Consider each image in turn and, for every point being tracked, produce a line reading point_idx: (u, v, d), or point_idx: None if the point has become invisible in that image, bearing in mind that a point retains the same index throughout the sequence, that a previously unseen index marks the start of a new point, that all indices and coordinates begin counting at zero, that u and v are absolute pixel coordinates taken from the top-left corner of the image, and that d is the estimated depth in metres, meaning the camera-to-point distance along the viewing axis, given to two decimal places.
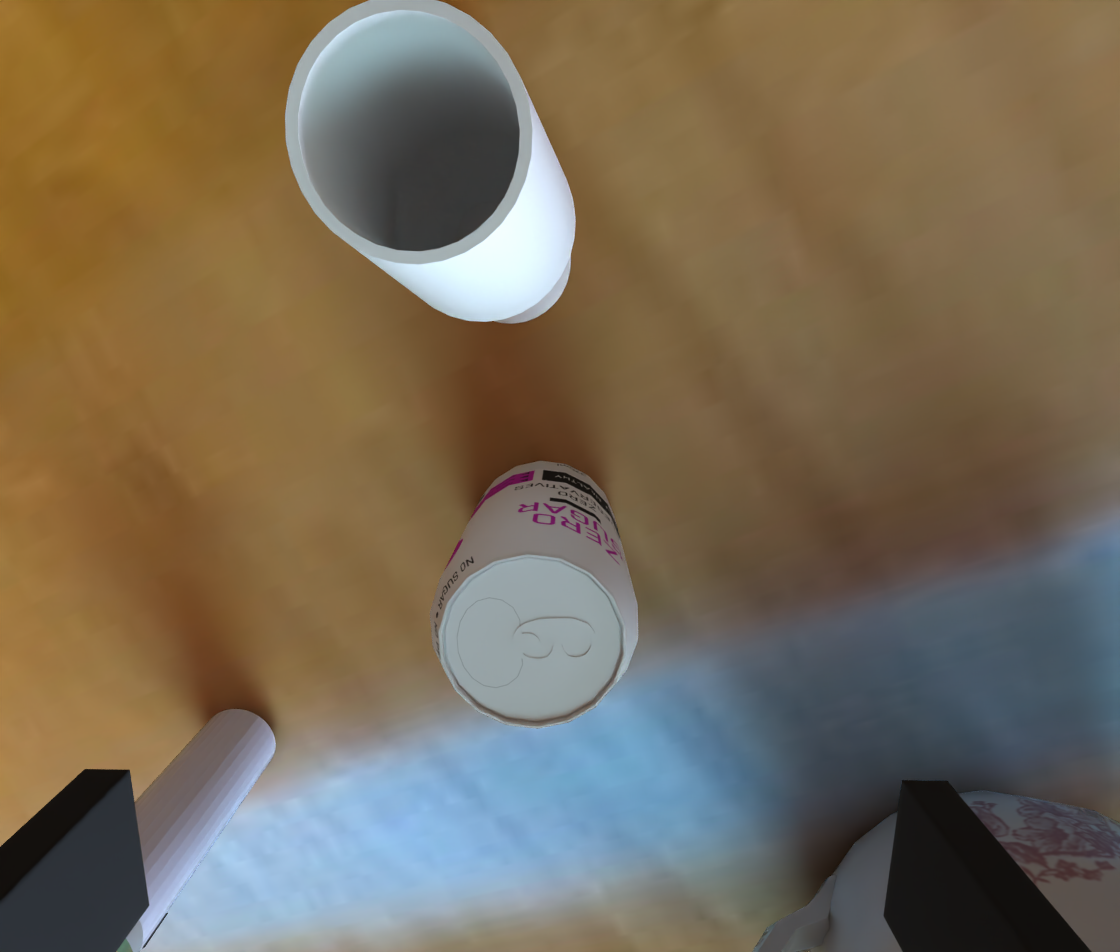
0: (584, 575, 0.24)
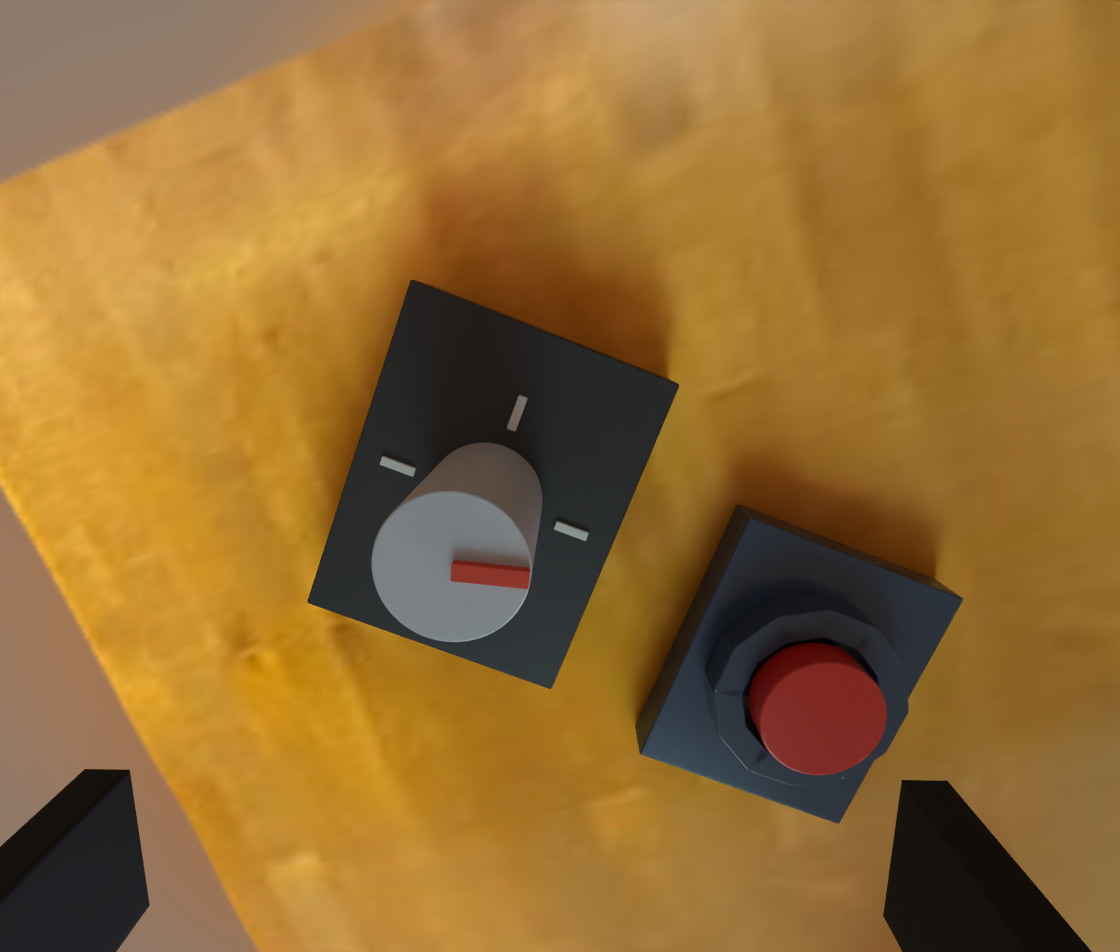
0: None
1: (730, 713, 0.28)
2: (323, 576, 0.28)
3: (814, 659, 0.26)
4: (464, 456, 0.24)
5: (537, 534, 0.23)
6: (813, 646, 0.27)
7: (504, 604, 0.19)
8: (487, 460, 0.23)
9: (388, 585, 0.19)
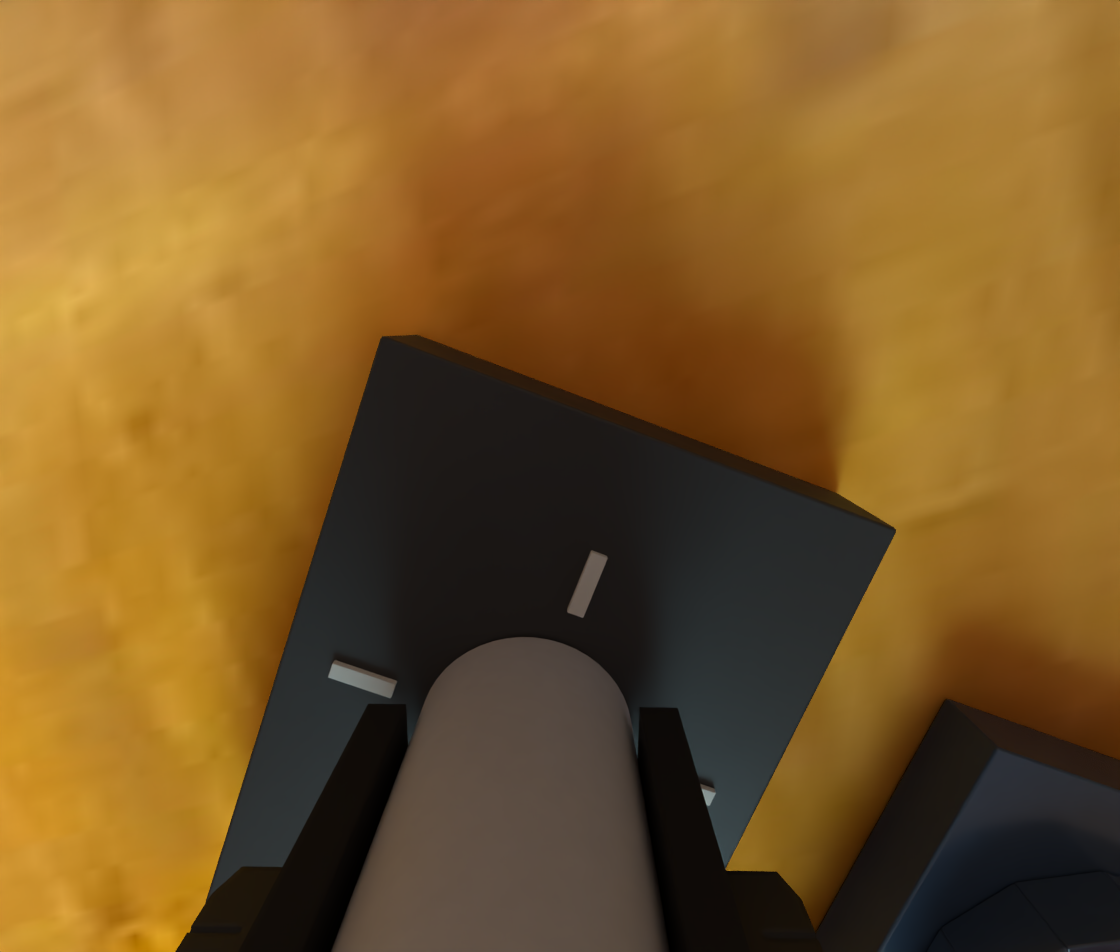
0: None
1: None
2: (232, 863, 0.15)
3: None
4: (493, 713, 0.11)
5: None
6: None
7: None
8: (544, 733, 0.11)
9: None
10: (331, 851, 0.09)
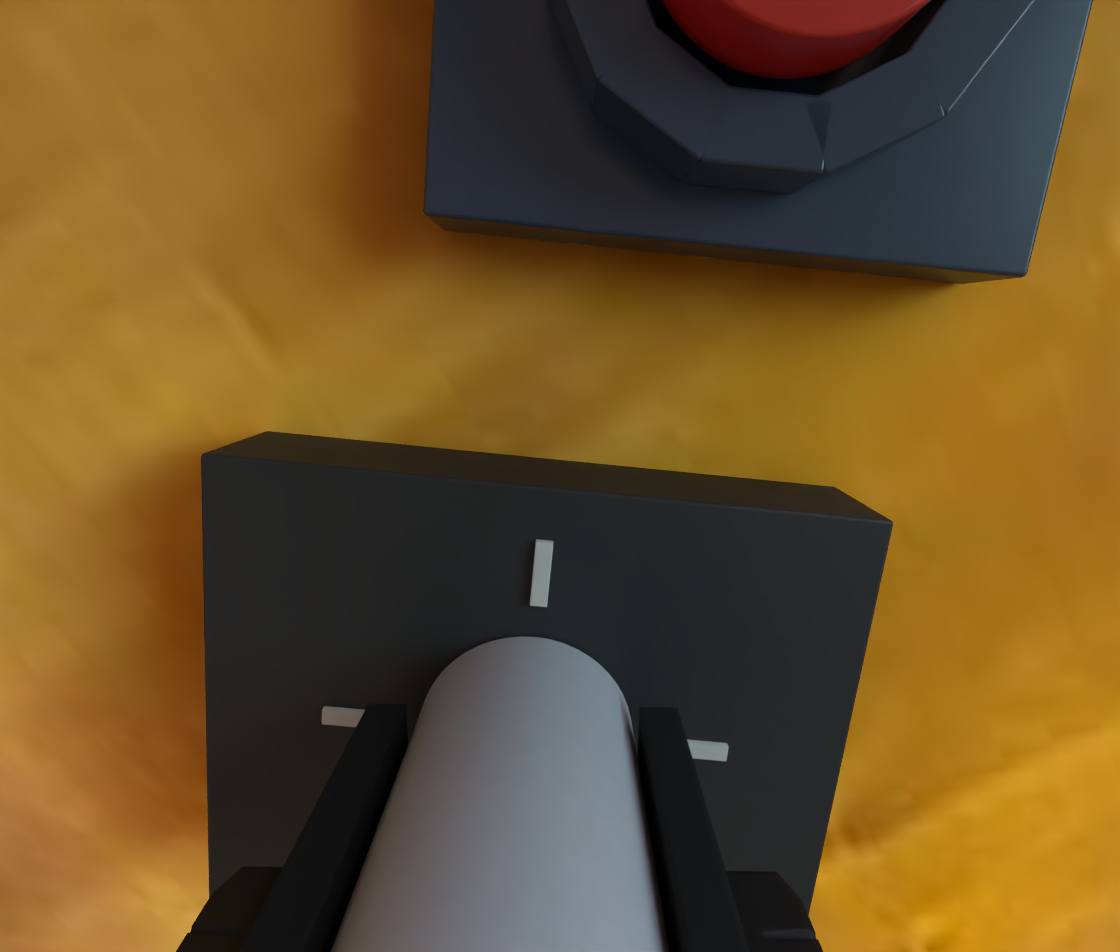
0: None
1: (877, 107, 0.11)
2: None
3: None
4: (492, 712, 0.11)
5: None
6: None
7: None
8: (543, 732, 0.11)
9: None
10: (332, 851, 0.09)
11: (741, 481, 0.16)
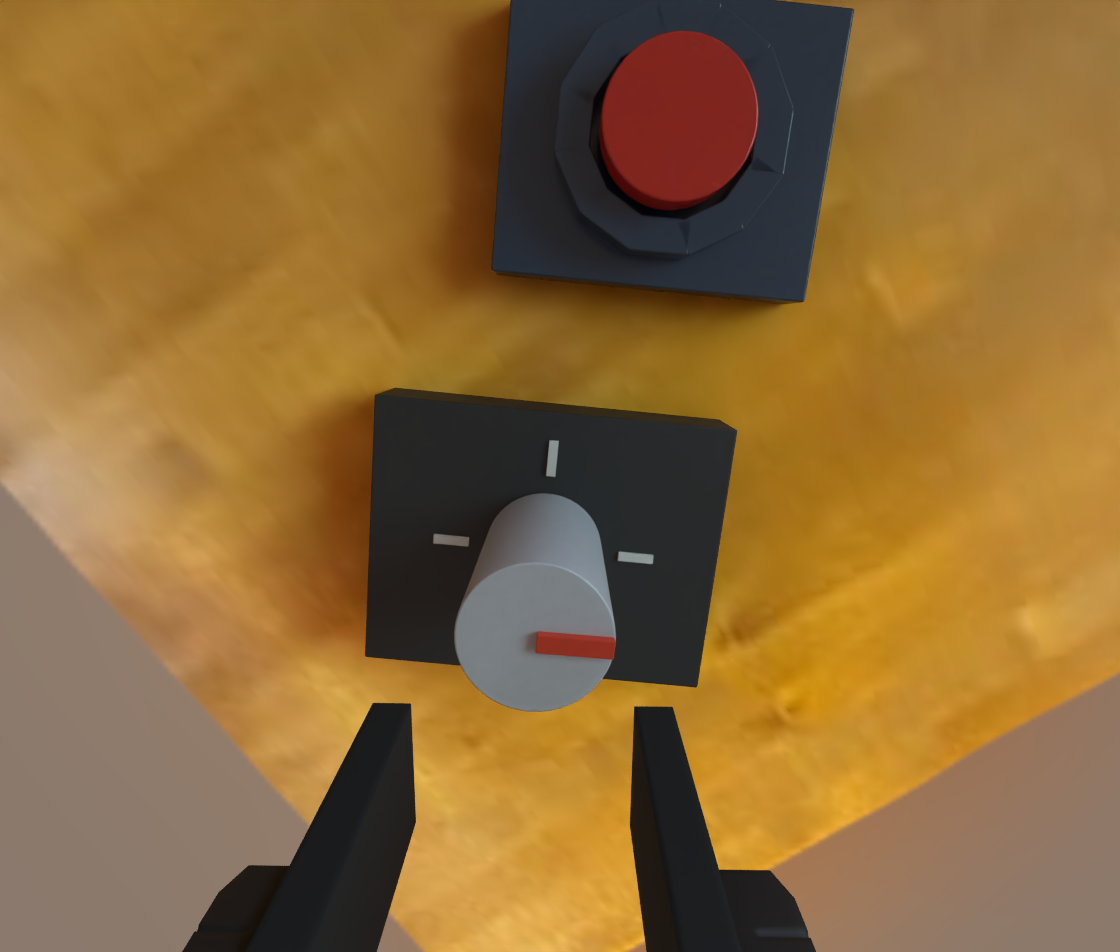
0: None
1: (711, 225, 0.23)
2: (665, 677, 0.28)
3: (608, 157, 0.22)
4: (529, 513, 0.23)
5: None
6: (603, 155, 0.23)
7: (588, 673, 0.19)
8: (554, 518, 0.23)
9: (470, 657, 0.19)
10: (338, 850, 0.09)
11: (664, 415, 0.28)
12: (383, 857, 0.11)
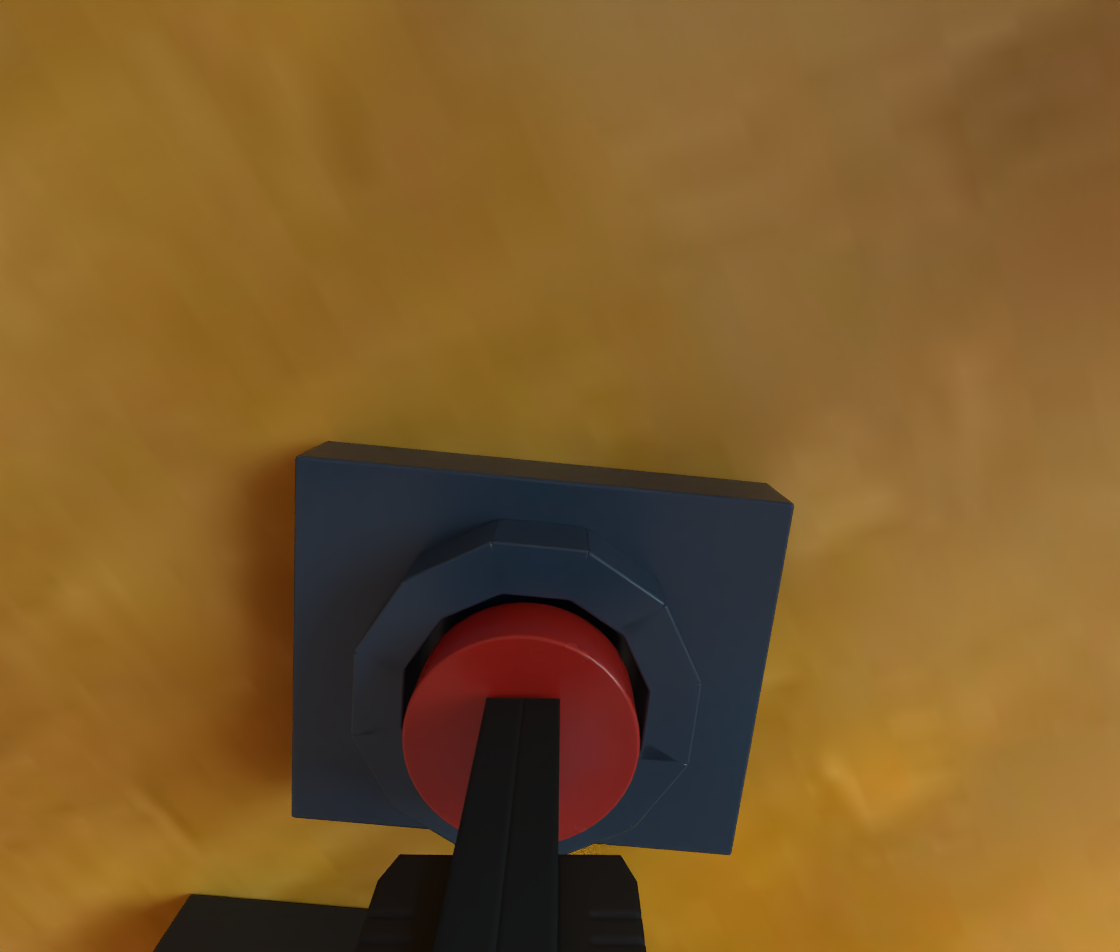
0: None
1: None
2: None
3: (418, 780, 0.14)
4: None
5: None
6: None
7: None
8: None
9: None
10: (496, 839, 0.10)
11: None
12: None
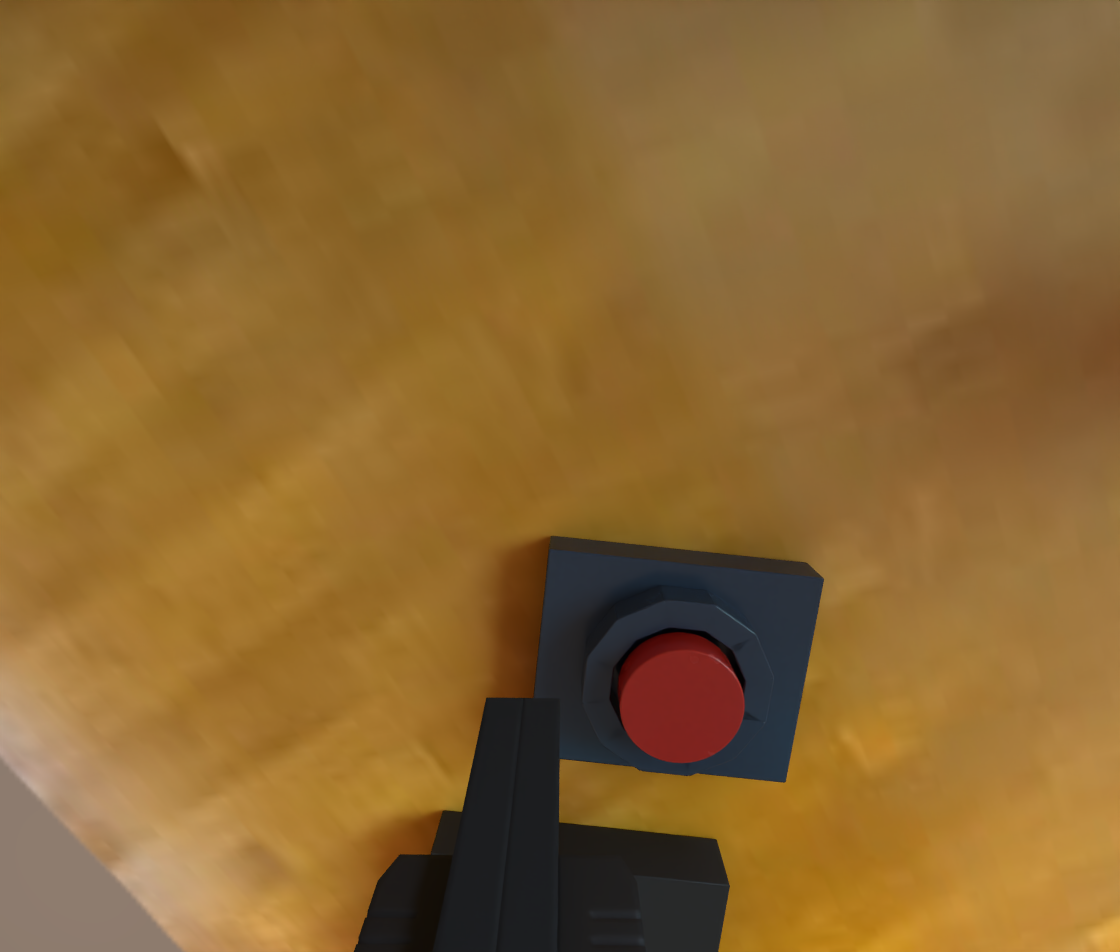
0: None
1: None
2: None
3: (624, 727, 0.27)
4: None
5: None
6: None
7: None
8: None
9: None
10: (495, 839, 0.10)
11: (669, 840, 0.33)
12: None
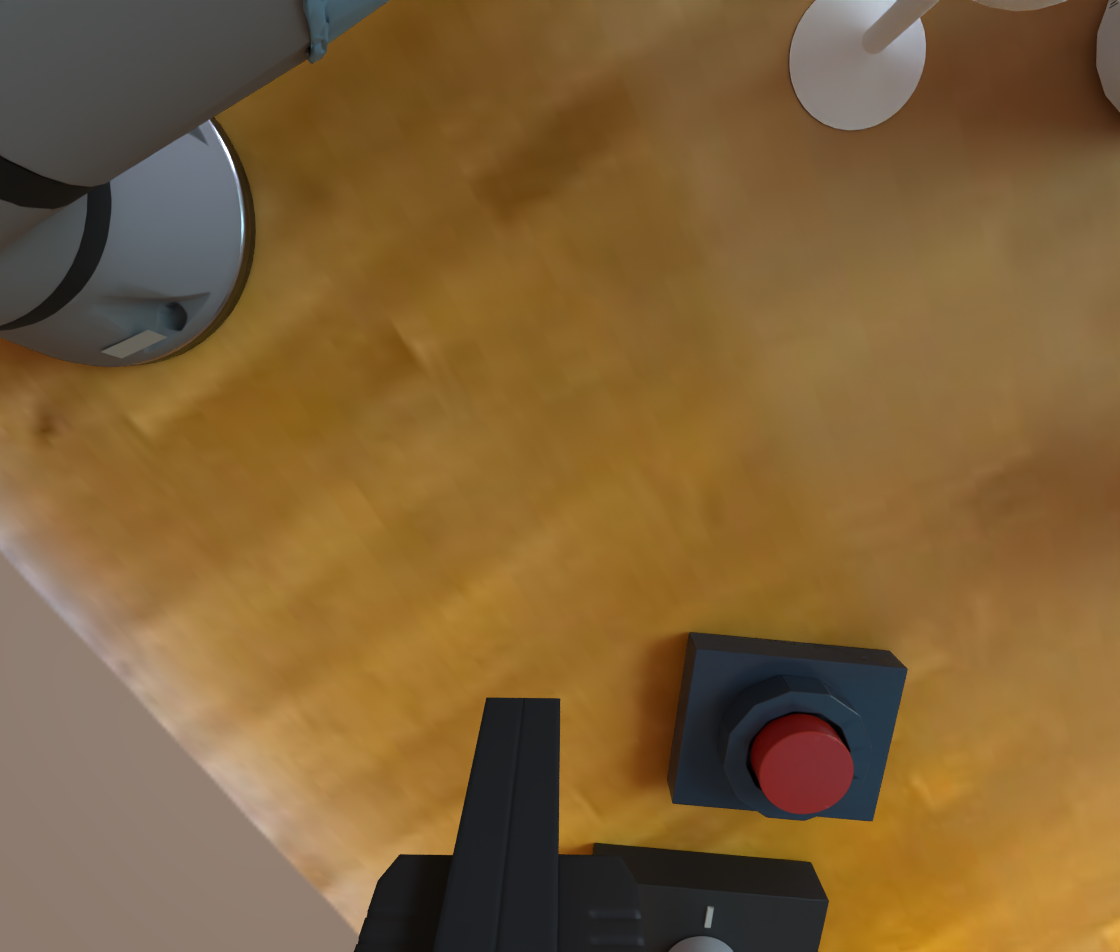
0: None
1: None
2: None
3: None
4: None
5: None
6: (754, 770, 0.37)
7: None
8: None
9: None
10: (496, 839, 0.10)
11: (775, 864, 0.42)
12: None
